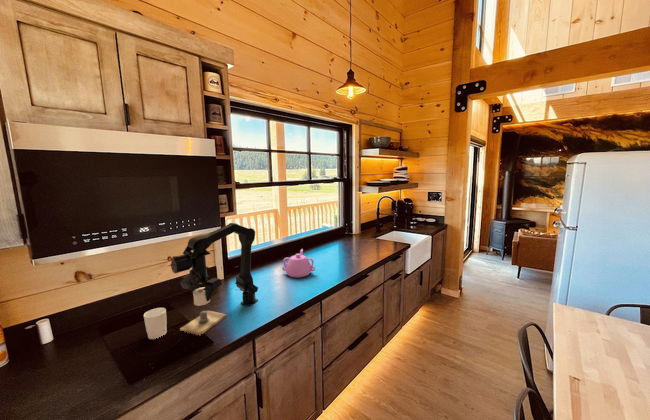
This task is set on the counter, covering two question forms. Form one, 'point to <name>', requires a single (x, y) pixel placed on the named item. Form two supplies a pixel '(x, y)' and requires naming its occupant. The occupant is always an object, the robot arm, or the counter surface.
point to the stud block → (203, 322)
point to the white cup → (155, 322)
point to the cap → (200, 297)
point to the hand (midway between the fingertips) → (202, 299)
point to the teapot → (298, 265)
